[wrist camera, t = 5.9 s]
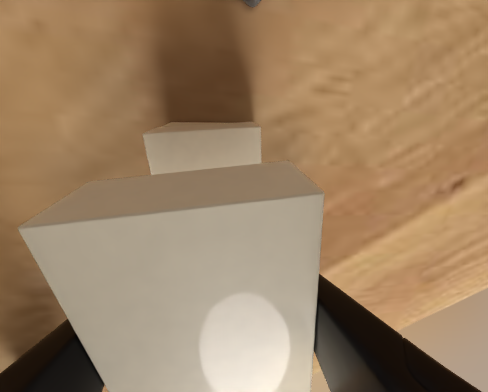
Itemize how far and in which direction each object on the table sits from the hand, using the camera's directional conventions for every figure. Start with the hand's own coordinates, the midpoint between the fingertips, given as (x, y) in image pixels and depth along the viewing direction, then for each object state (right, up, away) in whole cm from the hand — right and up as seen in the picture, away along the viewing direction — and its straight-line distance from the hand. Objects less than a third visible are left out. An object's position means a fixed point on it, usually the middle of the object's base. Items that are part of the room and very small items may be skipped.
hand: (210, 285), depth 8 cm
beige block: (-1, +5, +10) cm, 11 cm away
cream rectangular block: (0, 0, +1) cm, 1 cm away
